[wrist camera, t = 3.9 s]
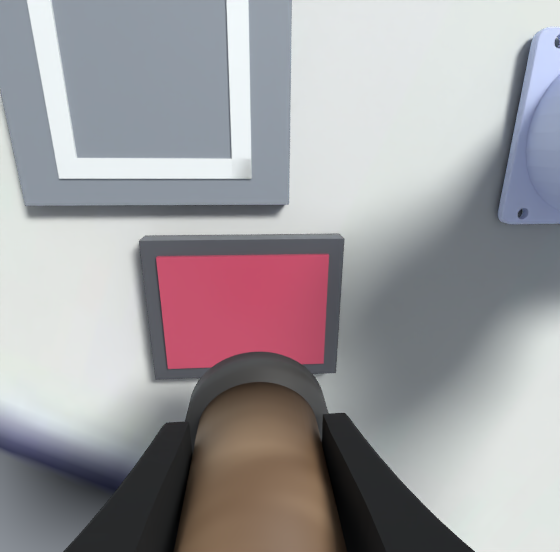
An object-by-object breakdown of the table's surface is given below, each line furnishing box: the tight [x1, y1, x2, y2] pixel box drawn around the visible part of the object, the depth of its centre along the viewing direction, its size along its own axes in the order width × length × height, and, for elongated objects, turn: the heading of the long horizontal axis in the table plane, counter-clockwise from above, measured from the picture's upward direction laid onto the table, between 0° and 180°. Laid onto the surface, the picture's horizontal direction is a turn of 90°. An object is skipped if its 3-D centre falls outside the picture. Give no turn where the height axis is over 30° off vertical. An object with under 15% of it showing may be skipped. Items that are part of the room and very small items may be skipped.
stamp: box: [174, 352, 347, 552], centre depth 9 cm, size 4×4×6 cm
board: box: [0, 0, 292, 206], centre depth 15 cm, size 11×10×1 cm
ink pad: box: [139, 234, 344, 379], centre depth 18 cm, size 9×7×1 cm
